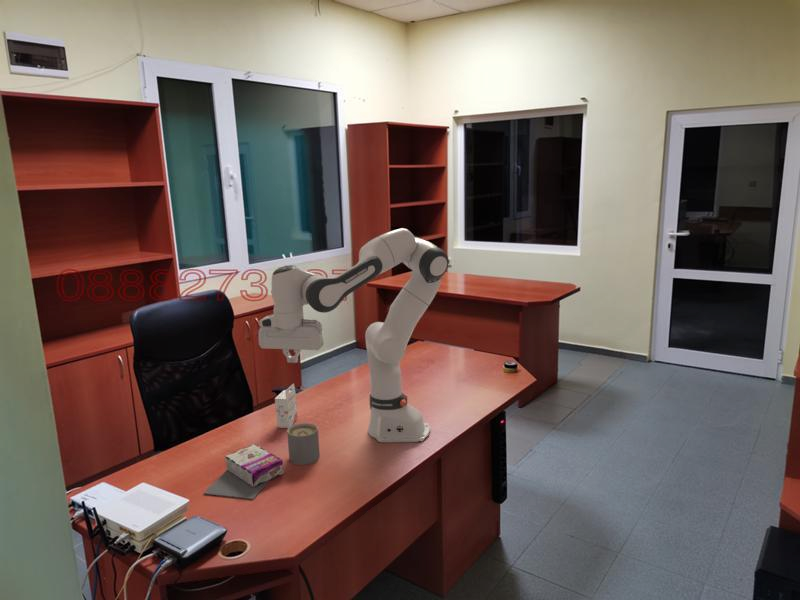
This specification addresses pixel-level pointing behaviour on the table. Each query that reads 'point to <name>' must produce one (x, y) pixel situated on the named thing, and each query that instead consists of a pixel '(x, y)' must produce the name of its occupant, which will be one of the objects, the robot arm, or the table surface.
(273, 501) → the table surface
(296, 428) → the coffee mug
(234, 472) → the candy bar box
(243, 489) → the mat
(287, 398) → the ink cartridge box
